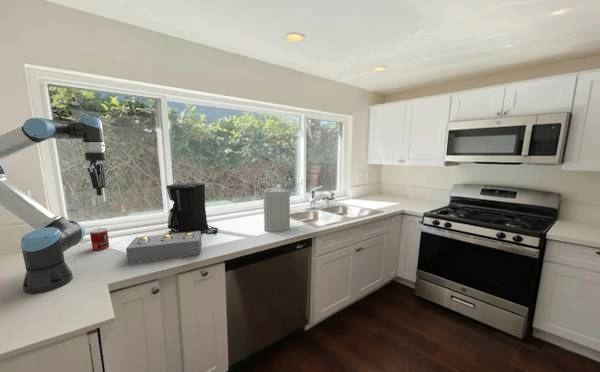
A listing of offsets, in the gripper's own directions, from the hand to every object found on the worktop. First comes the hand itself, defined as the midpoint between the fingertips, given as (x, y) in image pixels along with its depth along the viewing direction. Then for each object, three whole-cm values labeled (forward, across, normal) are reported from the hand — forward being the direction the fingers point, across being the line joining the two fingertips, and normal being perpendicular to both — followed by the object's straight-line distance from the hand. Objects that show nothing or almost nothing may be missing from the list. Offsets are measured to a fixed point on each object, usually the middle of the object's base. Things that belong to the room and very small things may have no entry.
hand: (101, 201), depth 119 cm
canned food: (+33, +26, +13) cm, 44 cm away
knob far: (+30, +7, -36) cm, 47 cm away
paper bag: (+33, +28, -89) cm, 99 cm away
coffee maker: (+33, +38, -34) cm, 61 cm away
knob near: (+30, +7, -14) cm, 34 cm away
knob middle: (+30, +7, -25) cm, 40 cm away
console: (+32, +7, -25) cm, 42 cm away
